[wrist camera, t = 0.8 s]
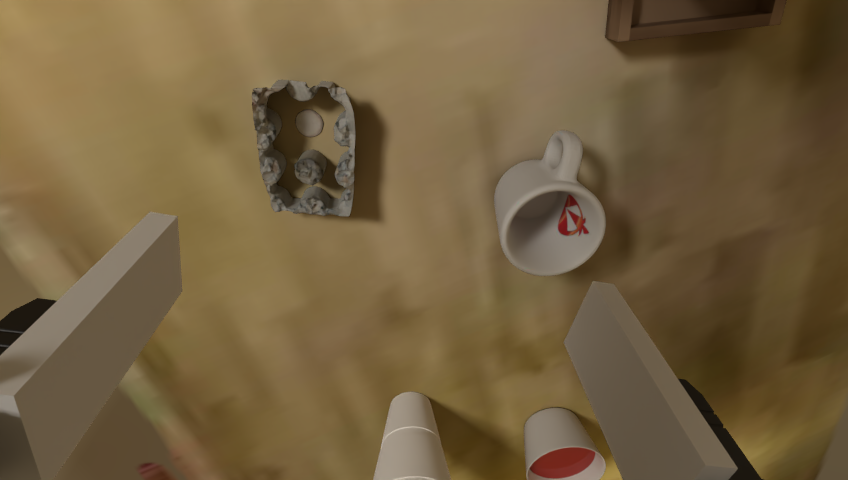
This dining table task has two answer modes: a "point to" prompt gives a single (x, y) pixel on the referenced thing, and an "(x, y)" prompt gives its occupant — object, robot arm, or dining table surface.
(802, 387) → the dining table surface
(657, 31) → the caddy
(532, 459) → the candle
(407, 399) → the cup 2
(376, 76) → the dining table surface
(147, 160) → the dining table surface
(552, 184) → the cup
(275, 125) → the egg carton
